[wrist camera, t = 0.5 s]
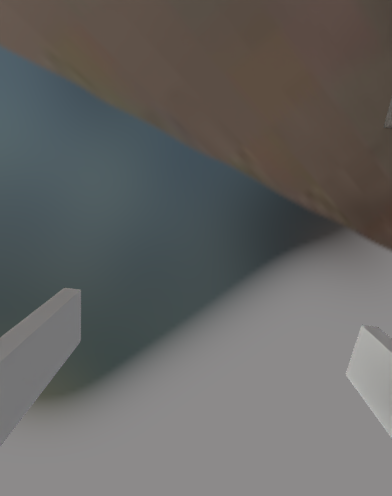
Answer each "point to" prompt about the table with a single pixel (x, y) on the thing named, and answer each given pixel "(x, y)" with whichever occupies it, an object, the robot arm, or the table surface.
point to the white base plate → (389, 117)
